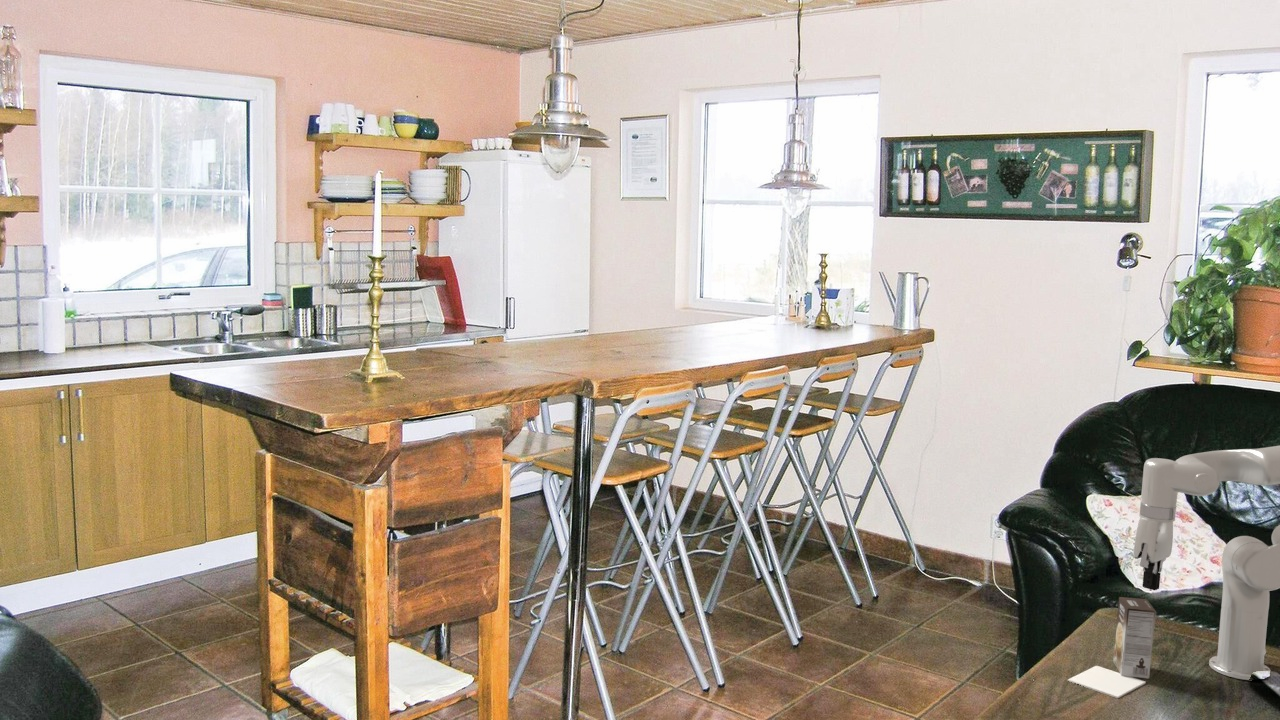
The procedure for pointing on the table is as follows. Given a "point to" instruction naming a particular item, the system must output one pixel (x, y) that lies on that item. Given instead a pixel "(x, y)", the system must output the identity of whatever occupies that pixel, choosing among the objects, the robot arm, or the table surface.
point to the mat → (1106, 681)
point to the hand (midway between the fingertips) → (1150, 588)
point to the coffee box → (1134, 637)
